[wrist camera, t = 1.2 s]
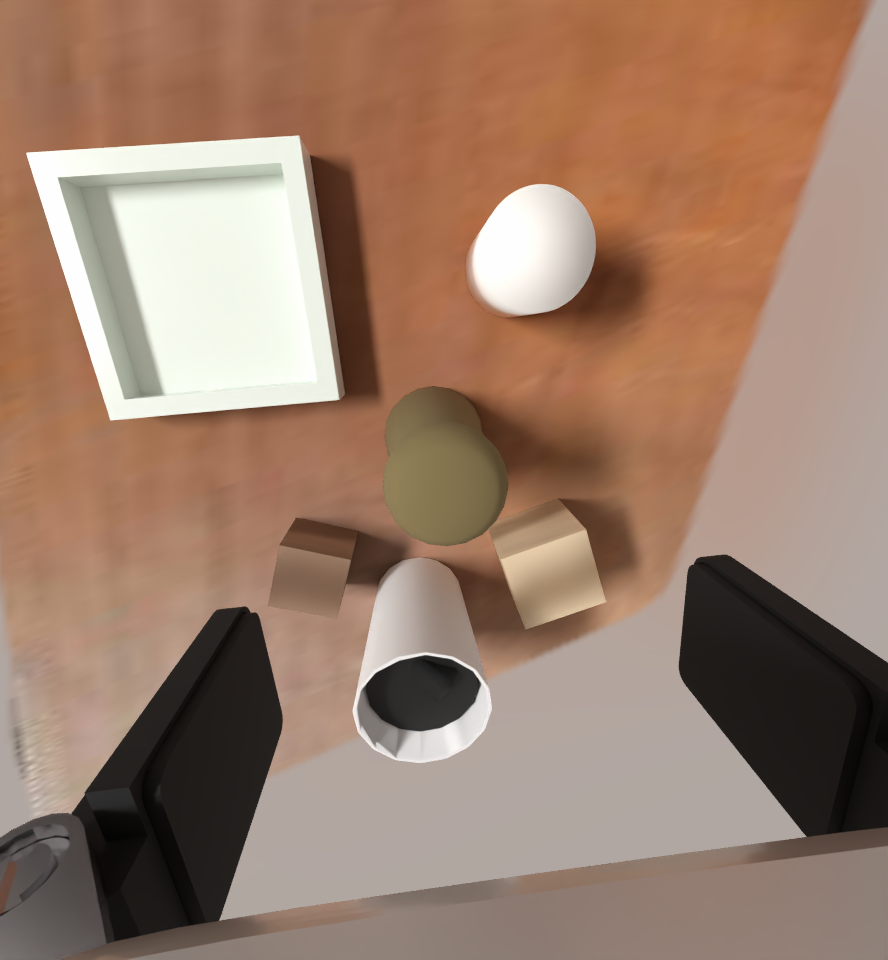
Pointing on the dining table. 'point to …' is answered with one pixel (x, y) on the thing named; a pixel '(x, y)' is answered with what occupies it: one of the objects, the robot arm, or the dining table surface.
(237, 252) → the tray
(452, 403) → the olive rounded tall piece
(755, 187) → the dining table surface
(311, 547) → the walnut block
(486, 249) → the white rounded cylinder
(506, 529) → the oak block
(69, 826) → the robot arm
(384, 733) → the drinking glass
